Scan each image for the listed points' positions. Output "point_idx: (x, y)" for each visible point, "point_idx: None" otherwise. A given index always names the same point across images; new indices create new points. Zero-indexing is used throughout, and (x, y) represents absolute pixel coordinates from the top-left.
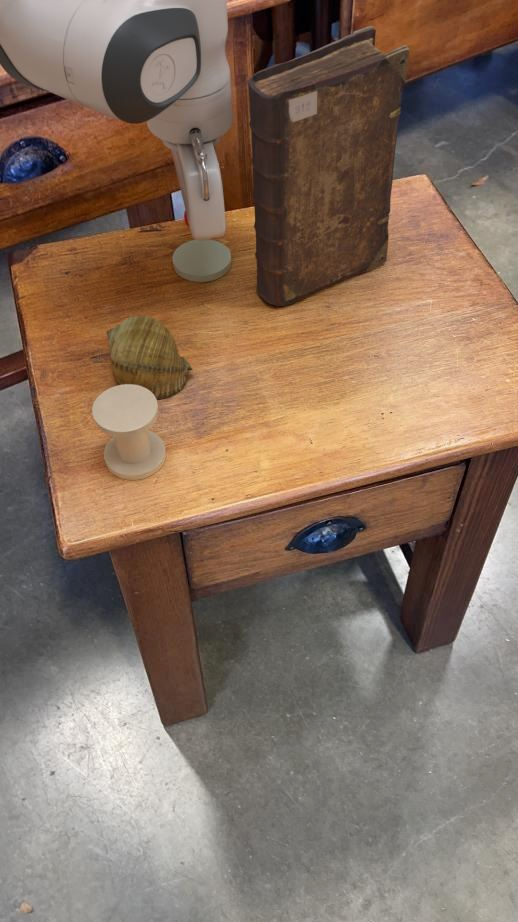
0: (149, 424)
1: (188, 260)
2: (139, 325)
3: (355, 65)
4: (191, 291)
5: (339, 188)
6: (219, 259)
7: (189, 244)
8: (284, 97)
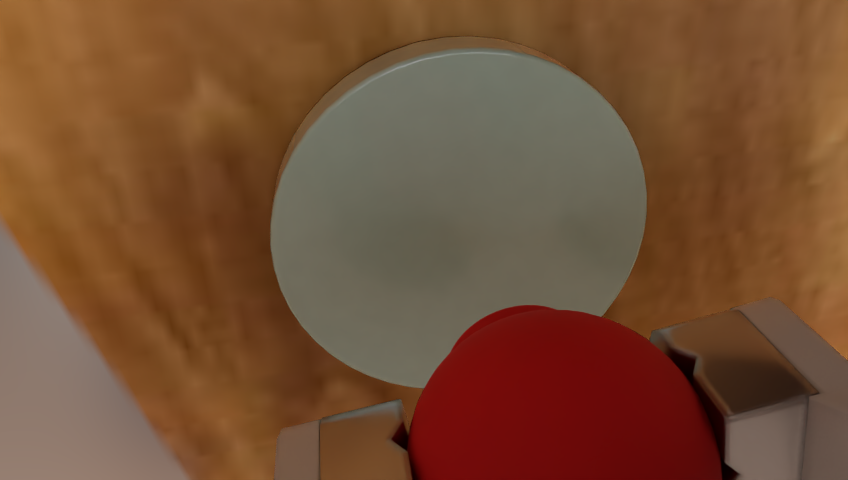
0: None
1: (499, 308)
2: None
3: None
4: (689, 242)
5: None
6: (499, 129)
7: (342, 326)
8: None
